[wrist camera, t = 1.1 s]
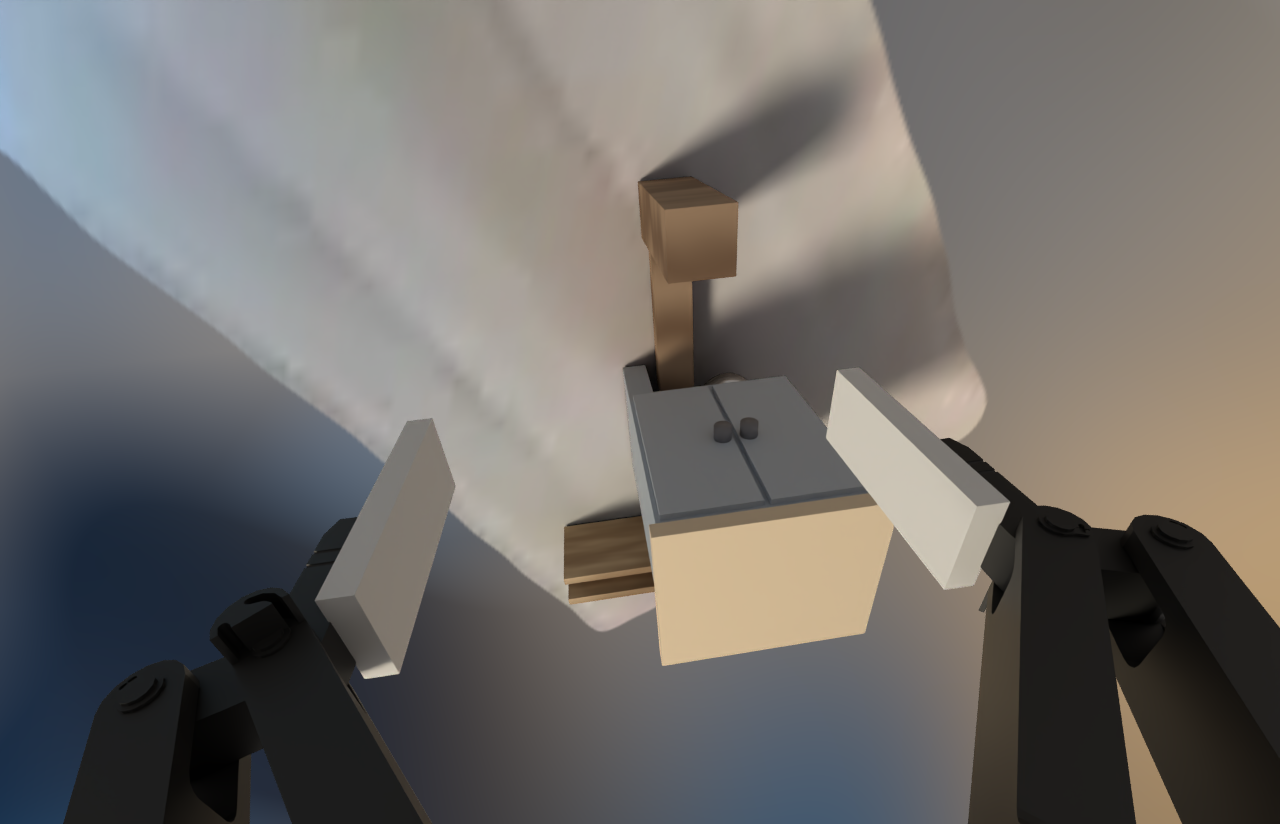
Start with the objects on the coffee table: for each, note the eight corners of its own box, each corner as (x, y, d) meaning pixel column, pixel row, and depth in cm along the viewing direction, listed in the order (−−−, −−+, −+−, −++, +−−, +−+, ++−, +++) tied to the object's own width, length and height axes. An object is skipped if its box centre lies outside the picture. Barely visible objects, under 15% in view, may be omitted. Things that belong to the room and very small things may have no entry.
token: (699, 376, 46) (703, 385, 44) (751, 369, 46) (758, 378, 45) (699, 421, 49) (704, 431, 47) (749, 415, 49) (755, 424, 47)
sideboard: (616, 354, 43) (650, 524, 26) (769, 335, 44) (904, 487, 27) (629, 468, 50) (662, 665, 32) (761, 450, 51) (864, 633, 33)
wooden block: (637, 181, 36) (664, 209, 26) (691, 176, 37) (738, 202, 27) (651, 383, 45) (675, 463, 35) (694, 378, 46) (730, 455, 36)
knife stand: (564, 526, 53) (563, 579, 47) (745, 501, 55) (767, 548, 49) (569, 551, 55) (569, 604, 49) (744, 526, 57) (765, 574, 51)
